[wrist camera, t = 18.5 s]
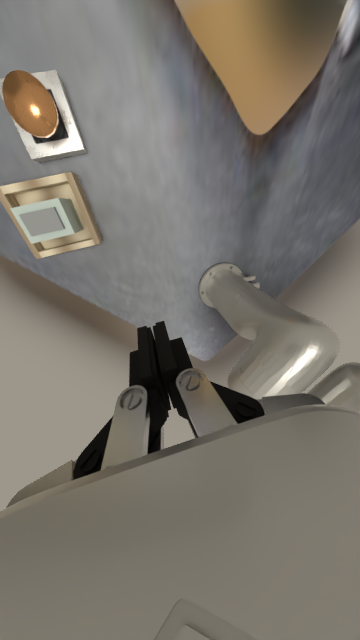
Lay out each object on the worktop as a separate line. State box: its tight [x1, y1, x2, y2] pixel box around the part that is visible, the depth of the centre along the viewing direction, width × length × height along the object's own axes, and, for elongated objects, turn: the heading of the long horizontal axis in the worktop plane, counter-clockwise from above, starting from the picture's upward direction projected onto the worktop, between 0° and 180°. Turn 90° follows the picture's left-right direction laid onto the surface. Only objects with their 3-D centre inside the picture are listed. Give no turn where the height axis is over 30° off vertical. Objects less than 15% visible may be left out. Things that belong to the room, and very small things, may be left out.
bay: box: [0, 172, 103, 259], centre depth 34 cm, size 12×11×4 cm
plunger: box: [2, 70, 64, 141], centre depth 26 cm, size 6×6×6 cm
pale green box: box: [10, 198, 84, 244], centre depth 31 cm, size 5×7×8 cm
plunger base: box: [0, 70, 87, 163], centre depth 28 cm, size 8×8×3 cm
